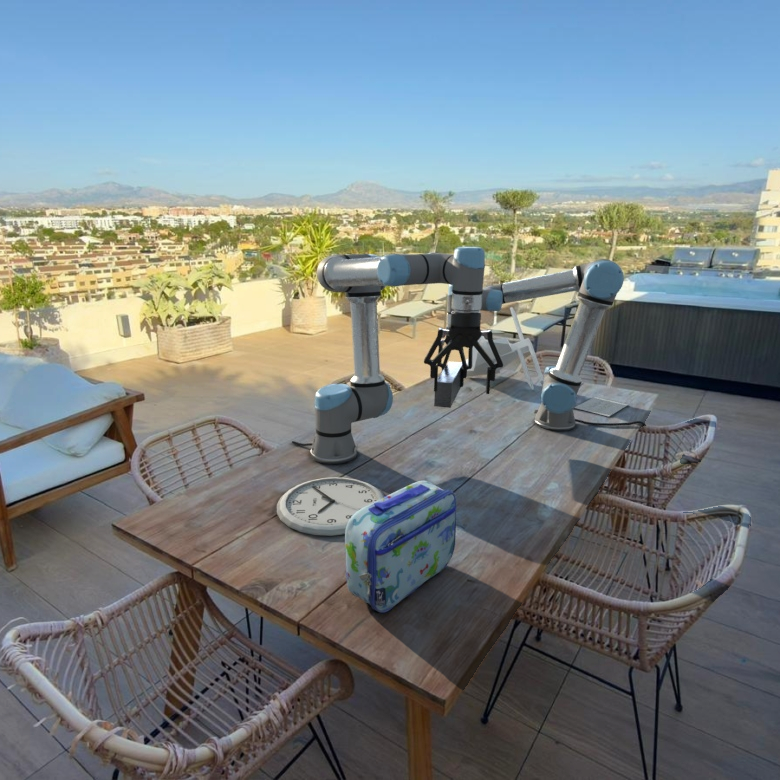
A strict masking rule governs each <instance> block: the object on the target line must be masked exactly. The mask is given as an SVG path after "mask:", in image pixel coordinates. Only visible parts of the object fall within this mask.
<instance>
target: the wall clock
mask: <svg viewBox="0 0 780 780" xmlns="http://www.w3.org/2000/svg"><path fill="white" fill-rule="evenodd" d="M384 497H386V495H385V494H384V493H383V492H382V491H381V490H380V489H379V488H377V487H376V486H374V485H372V484H371V483H369V482H365V481H362V480H359V479H355V478H349V477H338V476H337V477H335V476H333V477H332V476H331V477H322V478H317V479H312V480H307V481H305V482H302V483H299V484H297V485H295V486H293V487H292V488H290V489H288V490H287V491H286V492H285V493H284V494H283V495H281V496H280V498H279V499H278V502H277V503H276V515H277V517H278V518H279V520H280V521H281V522H282V523H283V524H285V525H286V526H287V527H288V528H290V529H293V530H295V531H297V532H299V533H303V534H308V535H312V536H327V537H328V536H329V537H331V536H332V537H333V536H342V535H345V531H346V527H347V524H348V522H349V520H350V518H351V517H352V515H353V514H354V513H355V512H357V511H358V510H360V509H362V508H364V507H366V506H368V505H370V504H372V503H374V502H376V501H378V500H380V499H382V498H384Z"/></svg>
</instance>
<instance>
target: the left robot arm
mask: <svg viewBox="0 0 780 780" xmlns="http://www.w3.org/2000/svg"><path fill="white" fill-rule="evenodd" d="M453 252H454V253H453V254H450V253H442V252H428V253H404V254H403V253H391V254H385V255H379V256H378V255H376V254H372V253H353V254H352V253H351V254H349V253H348V254H333V255H328V256H327V257H325V258H323V259H322V260H321V261H320V262H319V264H318V266H317V268H316V278H317V281H318V283H319V285H320V286H321V287H322V288H323V289H325V290H326V291H328V292H331V293H337V294H339V293H341V294H342V293H344V298H345V300H347V301H348V302H349V303H350V318H351V319H350V321H351V322H350V323H351V338H352V339H351V341H352V355H353V356H352V357H353V373H354V375H353V376H352V377H351V378H350V381H349V383H350V385H349V384H347V383H331V384H327V385H324V386H322V387H320V388H319V389H318V390H317V391H316V392H315V395H314V403H313V404H314V416H315V422H314V423H315V435H314V438H313V441H312V442H308V443H301V442H298V441H294V440H292V441H291V443H292V444H293V445H298V446H301V447H307V446H308V447H309V446H311V448H310V458H311V459H312V460H313V461H315V462H317V463H320V464H324V465H340V464H346V463H349V462H351V461H353V460H355V459H356V457H357V455H358V446H359V445H358V444H356V443H355V440H354V436H353V434H352V424H353V423H356V422H361V421H364V420H365V421H366V420H369V419H376V418H379V417H381V416H384V415H387V413H389V411H390V410H391V408H392V407H393V402H394V395H393V390H392V389H391V388H392V387H391V385H390V384H389V383H388V382H387V381H386V378H385V377H384V376H383V375H382V374H381V365H380V345H379V344H380V343H379V324H378V323H379V322H378V303H377V302H378V300H379V299H381V297H382V291H383V290H384V289H385V288H386V287H402V286H413V285H414V286H415V285H432V284H444V285H449V284H451V285H453V289H452V307H451V308H452V309H453V311H452V312H451V325H450V329H449V330H446V329H444V328H442V327H438V329H437V335H436V337H435V339H434V341H433V343H432V345H431V346H430V348H429V350H428V352H427V353H426V355H425V357H424V359H423V363H424V364H425V365H428V366H429V367H430V371H429V373H430V374H429V375H430V376H429V377H430V379H434V382H433V392H435V391H437V380H438V377H439V367H438V365H437V363H438V362H439V361H440V360H441V359H442V360H443V358H445V356H446V354H447V353H448V352H449V351H450V350H451V349H452V348H453V347H454V346H455V345H456V346H457V347H463V348H466V349H469V348H470V347H472V346H474V347H475V348H476V350H477V351H478V352H479V353H480V354H481V356H482V357H483V358H484V360H485V361H486V362H487V363H488V365H489V366H490V367H488V368H487V375H486V384H485V393H486V395H490V389H491V382H495V379H496V374H495V371H496V369H497V368H499V367H503V363H502V360H501V358H500V356H499V353H498V351H497V349H496V346H495V344H494V342H493V340H494V338H493V337H494V336H493V331H492V329H488V330H481V323H482V313H481V309H482V293H483V289H484V277H485V268H486V252H485V249H483V247H479V246H457V247H455V248H454V251H453ZM447 334H448V335H449V337H450V338H451V341H450V342H449V343H448V344H445V346H443V349H442V350H441V352H440V353H439V354H438V353H437V354H436V355H435V356H434V354H435V351H436V350H437V348H438V347H439V346H438V345H439V343H440V341H441V340H443V339H445V338H446V335H447ZM481 336H484V338H485V339H486V340H488V342H489V345H490V347H491V350H492V352H493V354H494V357H495V359H496V361H497V362H495V363H494V362H493V361H492V359H491V358H490V357H489V356H488V354H487V353H486V352H485V350H484V349H483V348H482V347H481V345H480V344H479V342H478V340H479V339H480V337H481ZM433 356H434V358H433ZM432 358H433V359H432Z"/></svg>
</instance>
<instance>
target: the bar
mask: <svg viewBox="0 0 780 780" xmlns="http://www.w3.org/2000/svg"><path fill="white" fill-rule="evenodd" d="M461 362H462V361H461ZM461 362H460V361H447V364H446V367H445V368H444V370H443V371H442V370H441V372H440V374H439V375H438V380H437V391H434V399H433V400H434V404H433V407H437V408H446V409H451V408H452V407H453V404H454V402H455V400H456V399H457V396H458V394H459V392H460V390H461V388H462V387H461V370H462V369H463V365H462V363H461Z"/></svg>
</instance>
